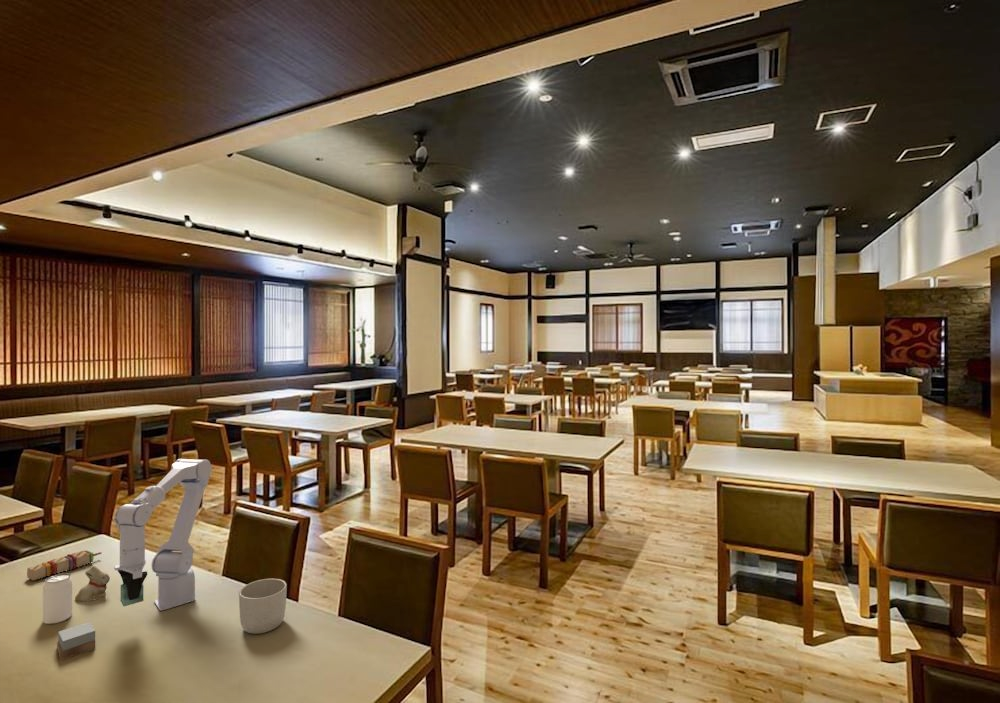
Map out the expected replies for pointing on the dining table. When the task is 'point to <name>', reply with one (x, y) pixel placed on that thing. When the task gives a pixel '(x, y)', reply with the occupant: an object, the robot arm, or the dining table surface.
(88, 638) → the tower top
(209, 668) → the dining table surface
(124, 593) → the teal block
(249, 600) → the planter
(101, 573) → the chocolate bunny
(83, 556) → the skewer
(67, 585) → the can
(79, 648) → the tower base
